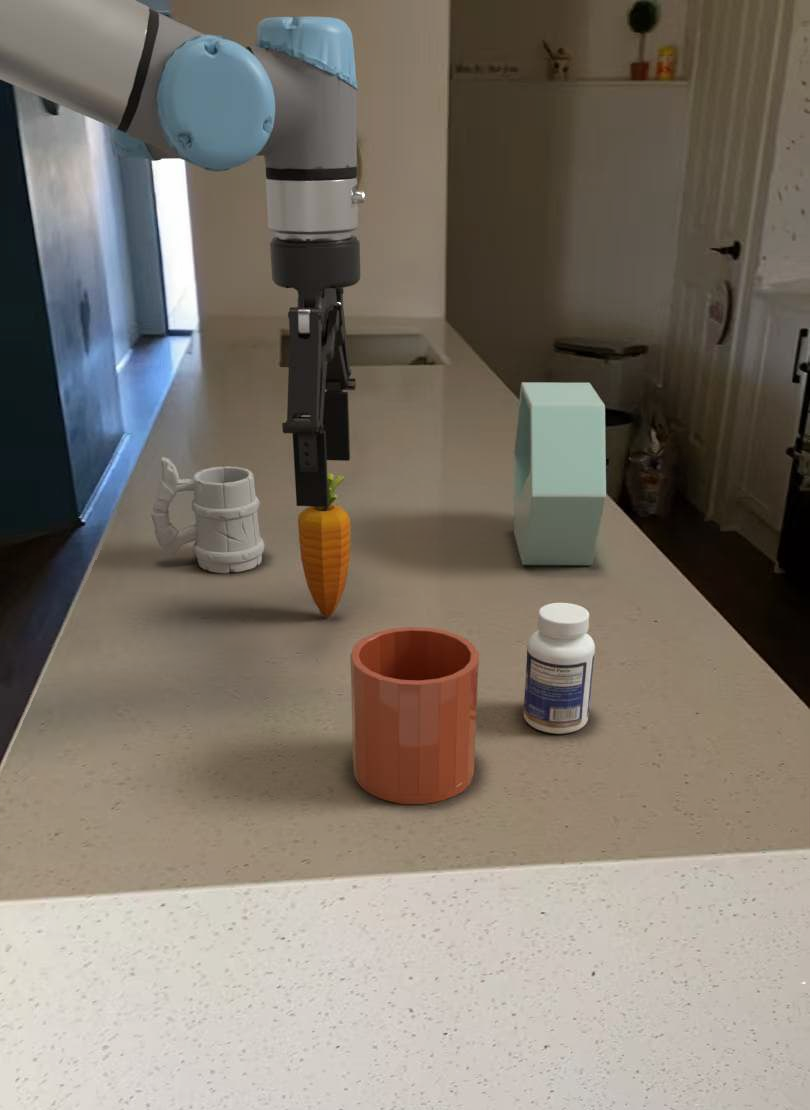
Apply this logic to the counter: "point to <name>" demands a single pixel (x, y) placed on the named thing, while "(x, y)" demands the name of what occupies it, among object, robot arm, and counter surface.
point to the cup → (414, 714)
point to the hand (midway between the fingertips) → (324, 481)
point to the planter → (559, 473)
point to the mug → (212, 517)
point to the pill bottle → (559, 670)
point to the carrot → (325, 550)
